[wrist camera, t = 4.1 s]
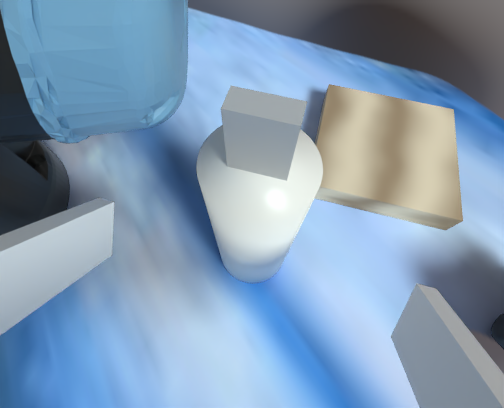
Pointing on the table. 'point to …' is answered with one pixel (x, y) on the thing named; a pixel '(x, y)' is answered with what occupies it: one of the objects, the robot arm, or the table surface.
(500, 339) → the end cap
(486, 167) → the table surface
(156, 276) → the table surface
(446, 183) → the oak board
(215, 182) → the white bottle
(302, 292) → the table surface
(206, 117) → the table surface
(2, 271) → the robot arm
